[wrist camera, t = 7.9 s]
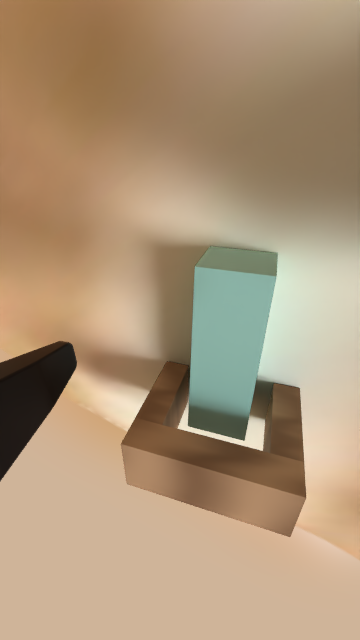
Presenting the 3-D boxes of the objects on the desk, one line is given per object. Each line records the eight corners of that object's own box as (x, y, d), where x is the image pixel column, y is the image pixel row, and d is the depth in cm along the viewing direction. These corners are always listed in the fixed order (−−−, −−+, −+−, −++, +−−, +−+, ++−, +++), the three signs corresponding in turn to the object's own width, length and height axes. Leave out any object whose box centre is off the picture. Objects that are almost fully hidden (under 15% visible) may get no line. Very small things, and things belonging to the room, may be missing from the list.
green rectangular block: (277, 251, 17) (276, 276, 14) (249, 399, 23) (244, 440, 20) (210, 245, 18) (194, 266, 15) (200, 388, 24) (187, 426, 21)
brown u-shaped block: (299, 388, 21) (306, 497, 14) (288, 426, 23) (290, 537, 17) (166, 361, 24) (120, 444, 17) (167, 397, 26) (126, 483, 19)
